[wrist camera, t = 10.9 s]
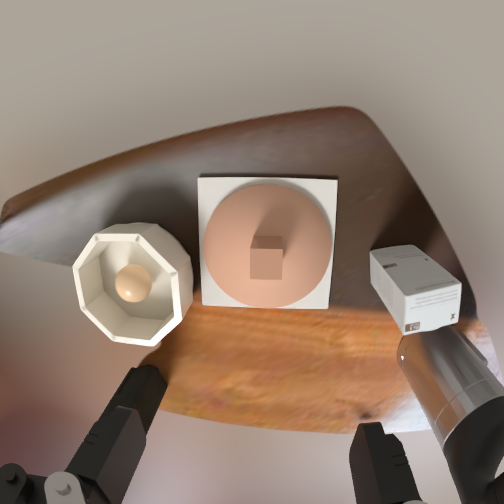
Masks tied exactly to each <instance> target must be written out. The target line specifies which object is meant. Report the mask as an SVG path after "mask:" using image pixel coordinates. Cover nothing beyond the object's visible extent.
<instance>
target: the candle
mask: <svg viewBox="0 0 504 504" xmlns="http://www.w3.org/2000/svg"><path fill="white" fill-rule="evenodd" d="M166 389H167V384H166V383H165V381H164V379H163V378H162V376H161V374H160V373H159V371H158V369H157V368H156V367H154V366H152V365H147V366H145V367H139V368H134V367H133V368H131V369H130V370H129V372H128V373H127V375H126V377H125V378H124V380H123V381H122V383H121V384H120V386H119V388H118V389H117V391H116V392H115V394H114V396H113V397H112V399H111V400H110V402H109V404H108V405H107V407H106V409H105V410H104V412H103V413H102V415H101V416H100V418H99V419H101V418H102V417H103V416H108V417H110V416H111V414H112V412H113V411H114V409H115V408H116V407H117V406H122V407H126V408H131V409H136V410H137V411H138V413H139V416H140V419H141V422H142V425H143V428H144V431H145V434H146V435H147V432H148V430H149V428H150V426H151V423H152V421H153V419H154V416H155V414H156V412H157V410H158V407H159V405H160V403H161V401H162V398H163V396H164V394H165V392H166Z"/></svg>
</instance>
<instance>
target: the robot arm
mask: <svg viewBox="0 0 504 504" xmlns="http://www.w3.org/2000/svg"><path fill="white" fill-rule="evenodd" d="M397 358H398V362H399V365H400V367H401V368H402V370H403V372H404V374H405V376H406V378H407V380H408V382H409V384H410V386H411V388H412V389H413V391H414V393H415V395H416V397H417V399H418V401H419V403H420V405H421V407H422V409H423V411H424V413H425V415H426V417H427V419H428V421H429V423H430V425H431V427H432V429H433V431H434V434H435V435H436V438H437V440H438V442H439V444H440V446H441V448H442V451H443V453H444V455H445V458H446V460H447V462H448V466H449V470H450V473H451V475H452V478H453V480H454V483H455V485H456V488H457V491H458V494H459V497H460V500H461V503H462V504H504V472H503V473H502V474H500V476H498V477H497V478H495V473H496V471H497V468H498V466H499V464H500V462H501V460H502V458H503V456H504V387H503V386H502V384H501V383H500V382H499V381H498V380H497V378H496V377H495V376H494V375H493V373H492V372H491V371H490V370H489V369H488V367H487V364H488V361H487V359H486V358H485V357H484V356H483V355H482V354H481V352H480V351H479V350H478V349H477V348H476V347H475V346H474V345H473V344H472V342H471V341H470V340H469V339H468V338H467V337H466V336H465V335H464V334H463V333H462V332H461V331H460V330H459V328H458V327H457V326H451V325H446V326H442V327H440V328H438V329H435V330H431V331H421V332H417V333H412V334H408V335H405V336H404V338H403V339H402V341H401V343H400V345H399V348H398V353H397ZM145 446H146V434H145V431H144V428H143V425H142V422H141V419H140V416H139V413H138V411H137V410H136V409H131V408H126V407H122V406H117V407H116V408H115V409H114V411H113V412H112V414H111V416H110V417H108V416H103V417H102V418H101V419H99V420H98V421H97V422H95V423H94V425H93V426H92V428H91V430H90V431H89V434H87V436H86V437H85V439H84V442H82V444H81V445H80V447H79V449H78V450H77V452H76V454H75V455H74V457H73V458H72V460H71V462H70V463H69V465H68V467H67V468H66V470H65V471H64V472H56V473H53V474H52V475H50V476H49V477H43V476H36V475H30V474H27V473H26V472H25V471H24V469H23V468H22V467H21V466H19V465H17V464H14V463H10V464H6V465H4V466H2V467H1V468H0V504H121V503H122V500H123V498H124V496H125V493H126V491H127V489H128V486H129V484H130V482H131V479H132V477H133V475H134V472H135V470H136V468H137V465H138V463H139V461H140V458H141V456H142V454H143V451H144V449H145ZM349 462H350V468H351V474H352V479H353V485H354V491H355V497H356V503H357V504H427V503H426V502H423V501H422V499H421V498H420V496H419V493H418V490H417V487H416V484H415V480H414V477H413V474H412V471H411V468H410V466H409V465H408V460H407V457H406V456H405V451H404V449H403V445H402V443H401V442H400V441H399V440H398V438H397V437H396V436H395V435H394V434H386V435H385V433H384V430H383V427H382V424H381V423H380V422H371V423H361V424H359V425H358V427H357V430H356V433H355V436H354V439H353V442H352V445H351V447H350V453H349ZM494 478H495V479H494Z"/></svg>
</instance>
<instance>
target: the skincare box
mask: <svg viewBox="0 0 504 504" xmlns="http://www.w3.org/2000/svg"><path fill="white" fill-rule="evenodd" d="M370 270H371V284H372V285H373V287H374V288H375V290H376V291H377V293H378V294H379V296H380V298H381V299H382V301H383V302H384V304H385V305H386V307H387V309H388V310H389V312H390V314H391V315H392V317H393V318H394V320H395V322H396V323H397V325H398V327H399V328H400V330H401V332H402V334H403V335H408V334H412V333H417V332H421V331H431V330H435V329H438V328H440V327H442V326H446V325H450V324H454V323H457V322H458V317H459V309H460V299H461V282H460V281H459V280H457V279H456V278H455V277H454V276H452V275H451V274H450V273H449V272H448V271H446V270H445V269H444V268H443V267H441V266H440V265H439V264H438V263H436V262H435V261H434V260H433V259H431V258H430V257H429V256H427V255H426V254H425V253H424V252H422V251H421V250H420V249H418V248H417V247H416V246H414V245H401V246H393V247H387V248H381V249H376V250H372V251H370Z"/></svg>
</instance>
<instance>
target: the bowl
mask: <svg viewBox="0 0 504 504" xmlns="http://www.w3.org/2000/svg"><path fill="white" fill-rule="evenodd" d="M131 264H136V265H140V266H142V267H143V268H145V269H146V270H147V271H148V272H149V274H150V276H151V279H152V288H151V291H150V293H149V295H148V296H147V297H146V298H145V299H144V300H142V301H140V302H135V303H134V302H128V301H126V300H124V299H122V298H121V297H120V296H119V294H118V293H117V291H116V287H115V279H116V276H117V274H118V272H119V271H120V270H121V269H122V268H123V267H125V266H127V265H131ZM73 273H74V278H75V284H76V289H77V294H78V299H79V304H80V308H81V310H82V311H83V312H84V313H85V314H86V315H87V316H88V317H89V318H90V320H92V321H93V323H94V324H96V325H97V326H98V327H99V328H100V329H101V330H102V331H103V332H104V333H105V334H106V335H107V336H108V337H109V338H110V339H111V340H112V341H116V342H122V343H129V344H137V345H144V346H153V347H154V346H155V345H156V344H157V343H158V342H159V341H160V340H161V339H162V338H163V337H164V336H166V335H167V334H168V333H169V332H170V331H171V330H172V329H173V328H174V327H175V326H176V325H177V324H179V323H180V322H181V321H182V320H183V318H184V316H185V314H186V312H187V311H188V309H189V307H190V305H191V303H192V302H193V292H192V290H193V284H194V274H193V268H192V264H191V259H190V256H189V255H188V254H187V252H186V250H185V249H184V247H183V246H182V245H181V243H180V242H179V241H178V240H177V239H176V238H175V237H174V236H173V235H172V234H171V233H169V232H168V231H166V230H165V229H163V228H161V227H160V226H159V225H158V224H150V223H145V222H134V223H129V224H115V225H112V226H110V227H108V228H106V229H104V230H101V231H99V232H97V233H95V234H94V235H93V237H92V238H91V240H90V241H89V243H88V244H87V245H86V247H85V248H84V250H83V251H82V253H81V254H80V256H79V257H78V259H77V260H76V262H75V263H74V265H73Z"/></svg>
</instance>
